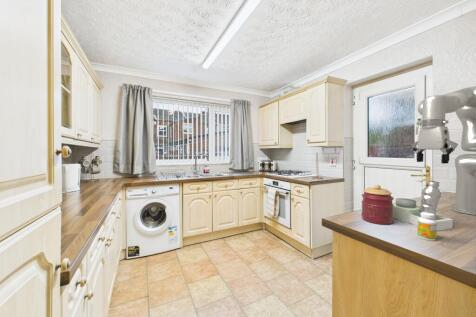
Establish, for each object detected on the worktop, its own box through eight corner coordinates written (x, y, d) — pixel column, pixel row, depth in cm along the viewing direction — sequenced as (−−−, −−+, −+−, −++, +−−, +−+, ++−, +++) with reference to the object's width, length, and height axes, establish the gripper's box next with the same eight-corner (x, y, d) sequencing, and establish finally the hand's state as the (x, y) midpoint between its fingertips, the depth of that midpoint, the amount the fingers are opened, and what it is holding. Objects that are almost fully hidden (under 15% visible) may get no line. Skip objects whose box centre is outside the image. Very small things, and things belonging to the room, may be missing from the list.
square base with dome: (402, 213, 112) (402, 196, 112) (453, 228, 91) (454, 208, 91) (384, 215, 109) (385, 198, 109) (433, 231, 88) (434, 210, 88)
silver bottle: (438, 227, 93) (448, 184, 89) (421, 225, 94) (430, 182, 90) (428, 221, 99) (437, 180, 95) (412, 219, 100) (420, 179, 97)
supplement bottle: (413, 235, 84) (414, 211, 84) (426, 234, 85) (427, 211, 84) (427, 241, 79) (428, 216, 78) (440, 240, 79) (441, 215, 79)
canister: (375, 226, 94) (376, 187, 93) (355, 216, 107) (355, 182, 106) (400, 224, 96) (401, 186, 95) (377, 215, 109) (378, 181, 108)
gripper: (464, 122, 85) (462, 163, 86) (418, 126, 102) (417, 161, 103) (451, 121, 83) (449, 164, 84) (406, 126, 100) (405, 161, 101)
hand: (431, 162), depth 94 cm, fingers open, 9 cm apart
